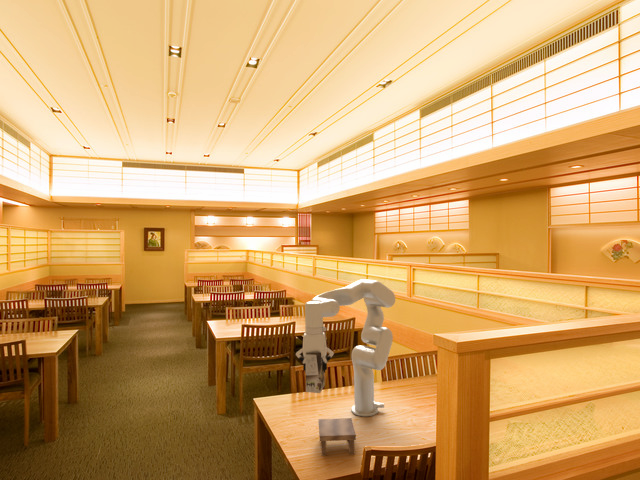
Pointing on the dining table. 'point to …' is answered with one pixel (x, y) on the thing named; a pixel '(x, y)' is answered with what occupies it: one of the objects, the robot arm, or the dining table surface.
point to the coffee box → (314, 372)
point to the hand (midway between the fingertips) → (315, 371)
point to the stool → (336, 432)
